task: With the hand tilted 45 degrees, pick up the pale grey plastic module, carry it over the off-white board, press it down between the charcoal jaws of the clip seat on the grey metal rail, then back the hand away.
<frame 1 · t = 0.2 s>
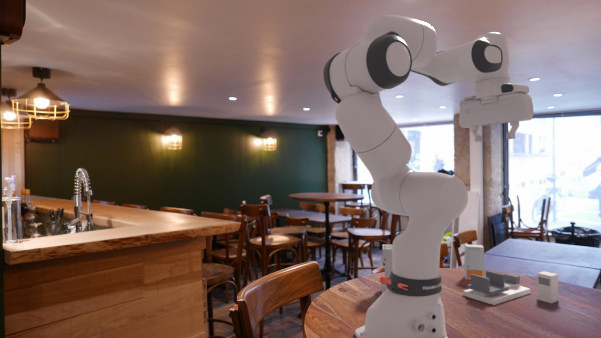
hand: (494, 140, 109), 48 cm above the table, tool pointing down, fingers open, 8 cm apart
circuit breaker: (405, 295, 120), on the table
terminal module: (547, 300, 116), on the table
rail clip: (497, 280, 121), on the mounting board, point 4 cm above the table
skincare box: (473, 279, 137), on the table
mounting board: (497, 294, 121), on the table
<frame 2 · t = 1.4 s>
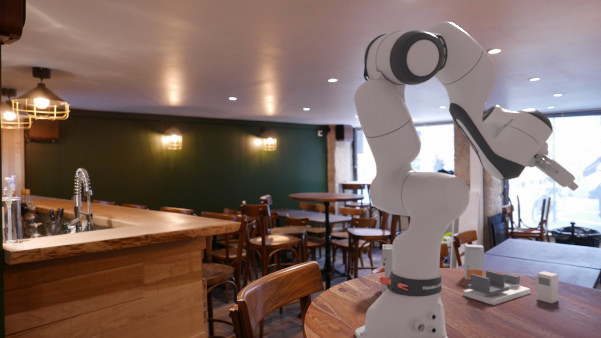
hand: (566, 181, 105), 36 cm above the table, tool tilted 50°, fingers open, 8 cm apart
nothing on the table moved.
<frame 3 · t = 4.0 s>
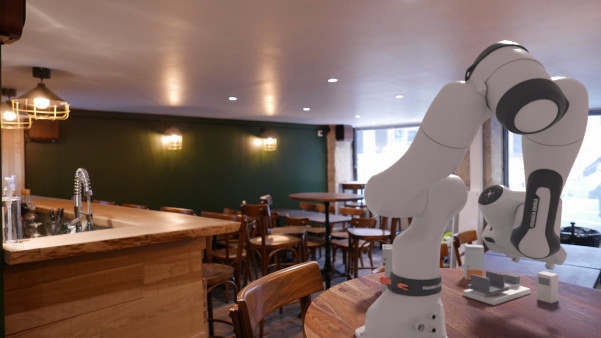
hand: (533, 264, 110), 12 cm above the table, tool tilted 45°, fingers open, 8 cm apart
nothing on the table moved.
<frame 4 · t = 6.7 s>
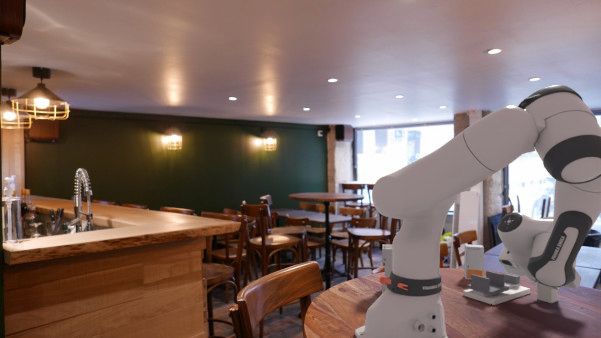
hand: (547, 285, 116), 4 cm above the table, tool tilted 45°, fingers closed on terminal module, 4 cm apart
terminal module: (547, 300, 116), on the table, touching gripper
everything else where it was.
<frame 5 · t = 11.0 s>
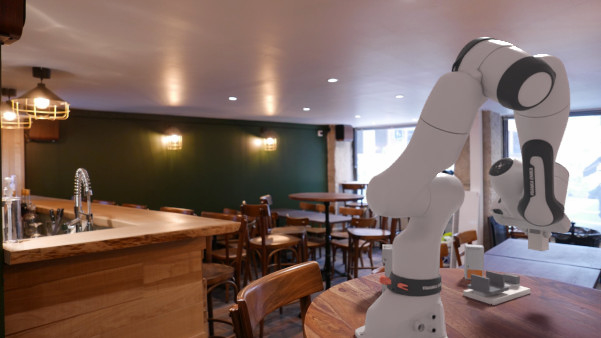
hand: (538, 234, 116), 20 cm above the table, tool tilted 45°, fingers closed on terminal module, 4 cm apart
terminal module: (538, 249, 116), point 15 cm above the table, touching gripper
everything else where it was.
when the fingers open (8 cm above the table, at t = 15.3 s): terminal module stays where it is, resting on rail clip.
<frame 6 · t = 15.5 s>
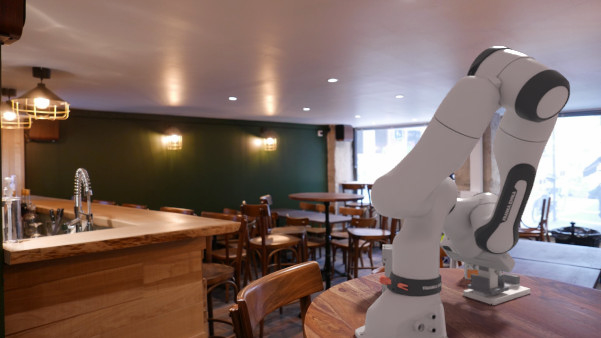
hand: (487, 270, 118), 8 cm above the table, tool tilted 45°, fingers open, 6 cm apart
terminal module: (487, 285, 118), point 3 cm above the table, touching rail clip
everything else where it was.
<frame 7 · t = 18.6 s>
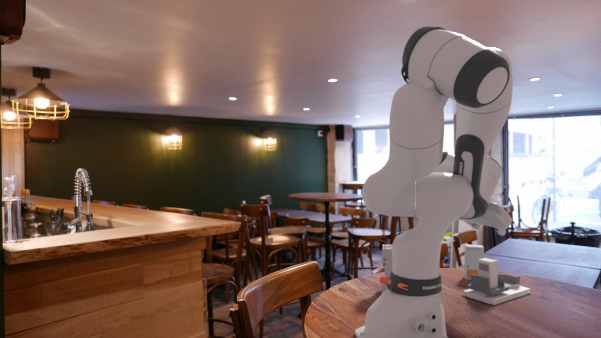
hand: (489, 230, 115), 21 cm above the table, tool tilted 45°, fingers open, 8 cm apart
nothing on the table moved.
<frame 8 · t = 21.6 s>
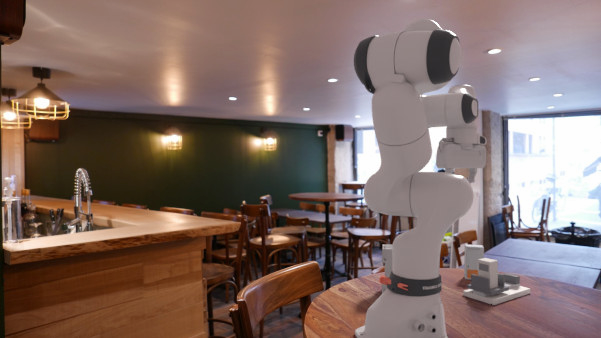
hand: (461, 183, 119), 35 cm above the table, tool pointing down, fingers open, 8 cm apart
nothing on the table moved.
at the end: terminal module 0.0 cm from the target spot on the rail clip, point 3.5 cm above the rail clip's base; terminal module tilted 0°; the gripper is holding nothing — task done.
